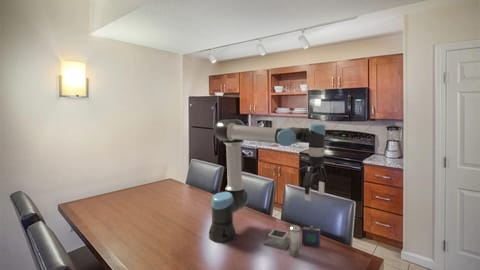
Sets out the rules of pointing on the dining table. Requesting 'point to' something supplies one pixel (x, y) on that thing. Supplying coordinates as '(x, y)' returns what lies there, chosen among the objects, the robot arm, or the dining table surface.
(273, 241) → the duct collar
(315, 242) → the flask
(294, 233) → the silver canister
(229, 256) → the dining table surface
